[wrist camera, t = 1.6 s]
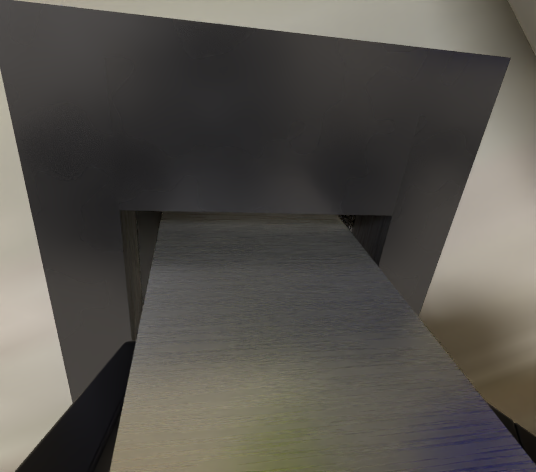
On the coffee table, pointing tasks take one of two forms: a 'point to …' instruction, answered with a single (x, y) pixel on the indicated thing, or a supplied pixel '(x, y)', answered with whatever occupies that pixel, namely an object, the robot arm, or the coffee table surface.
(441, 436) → the brushed metal block
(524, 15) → the puzzle toy
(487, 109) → the slotted plate
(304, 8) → the coffee table surface
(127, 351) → the robot arm
